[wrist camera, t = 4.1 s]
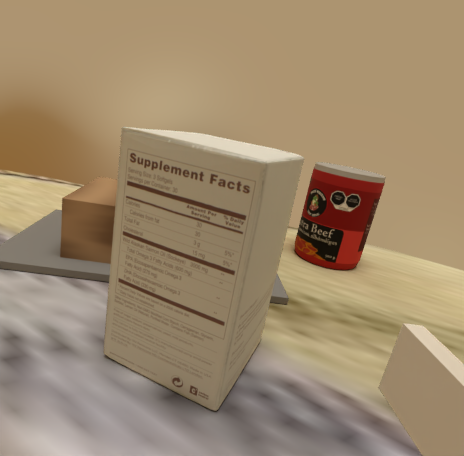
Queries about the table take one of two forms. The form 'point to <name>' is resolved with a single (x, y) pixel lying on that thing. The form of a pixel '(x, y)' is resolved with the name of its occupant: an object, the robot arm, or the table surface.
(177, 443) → the table surface
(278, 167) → the supplement box
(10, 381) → the table surface
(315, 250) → the canned food
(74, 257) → the walnut block
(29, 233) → the slate mat
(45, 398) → the table surface
